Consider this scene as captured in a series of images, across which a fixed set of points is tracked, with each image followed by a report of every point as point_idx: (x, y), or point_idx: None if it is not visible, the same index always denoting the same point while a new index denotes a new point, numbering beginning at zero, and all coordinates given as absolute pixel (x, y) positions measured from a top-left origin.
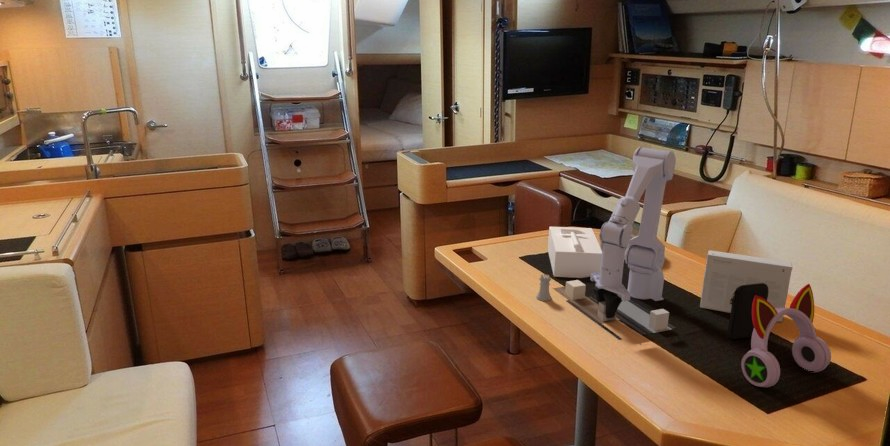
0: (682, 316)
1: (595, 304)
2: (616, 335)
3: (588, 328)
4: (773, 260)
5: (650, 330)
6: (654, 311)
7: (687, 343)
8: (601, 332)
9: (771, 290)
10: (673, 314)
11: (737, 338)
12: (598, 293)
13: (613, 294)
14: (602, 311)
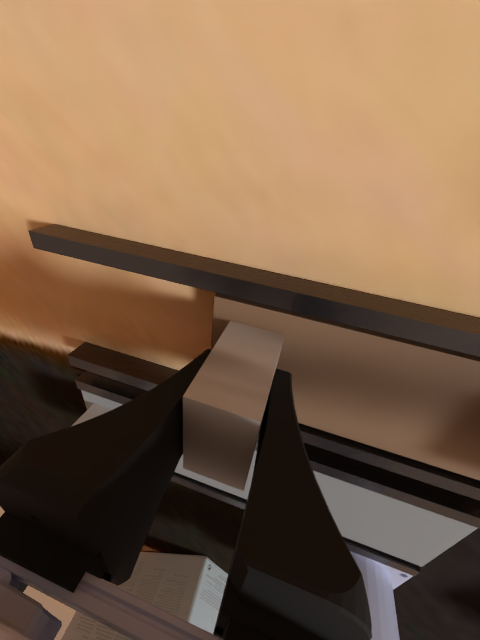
0: (183, 511)
1: (417, 451)
2: (65, 250)
3: (250, 212)
4: None
5: (98, 397)
6: None
7: (51, 408)
8: (179, 244)
9: (79, 636)
10: (201, 512)
11: None
12: (246, 517)
13: (29, 538)
14: (219, 362)
